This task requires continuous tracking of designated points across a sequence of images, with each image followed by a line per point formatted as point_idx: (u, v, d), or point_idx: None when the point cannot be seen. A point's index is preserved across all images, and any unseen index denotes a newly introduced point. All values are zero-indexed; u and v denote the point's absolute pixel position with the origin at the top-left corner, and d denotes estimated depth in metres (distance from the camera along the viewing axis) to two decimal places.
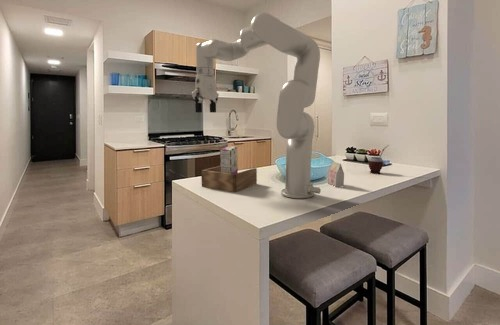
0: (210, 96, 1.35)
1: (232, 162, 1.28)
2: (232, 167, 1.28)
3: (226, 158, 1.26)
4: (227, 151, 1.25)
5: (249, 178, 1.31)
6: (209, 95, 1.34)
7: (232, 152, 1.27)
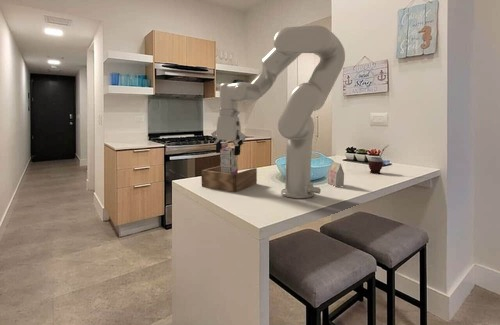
0: None
1: (232, 162, 1.28)
2: (232, 167, 1.28)
3: (226, 158, 1.26)
4: (227, 151, 1.25)
5: (249, 178, 1.31)
6: None
7: (232, 152, 1.27)
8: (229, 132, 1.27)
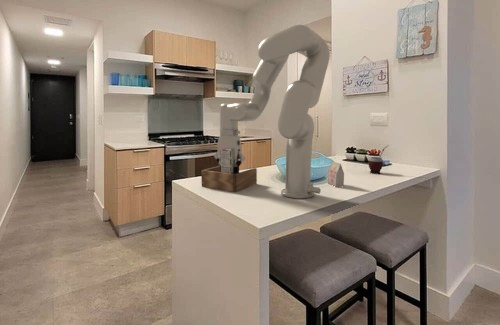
0: None
1: (232, 162, 1.28)
2: (232, 167, 1.28)
3: (226, 158, 1.26)
4: (227, 151, 1.25)
5: (249, 178, 1.31)
6: None
7: (232, 152, 1.27)
8: None
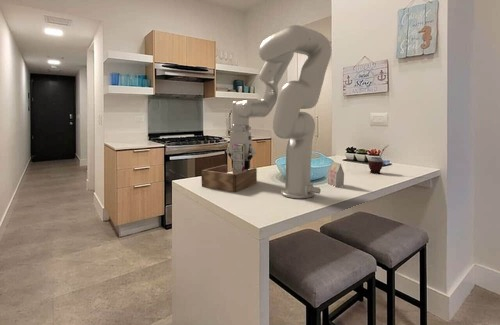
0: None
1: (243, 156, 1.35)
2: (243, 161, 1.35)
3: (238, 153, 1.33)
4: (239, 146, 1.32)
5: (249, 178, 1.31)
6: None
7: (243, 147, 1.34)
8: None
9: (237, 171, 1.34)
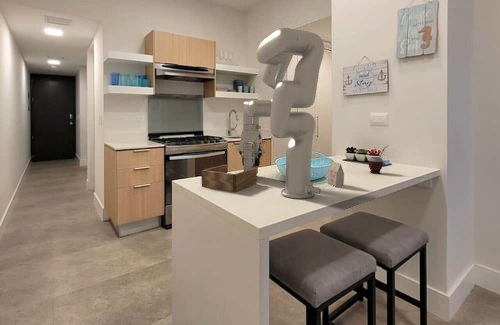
0: None
1: (254, 154, 1.42)
2: (254, 159, 1.42)
3: (249, 150, 1.40)
4: (249, 144, 1.40)
5: (249, 178, 1.31)
6: None
7: (254, 145, 1.41)
8: None
9: (248, 168, 1.42)
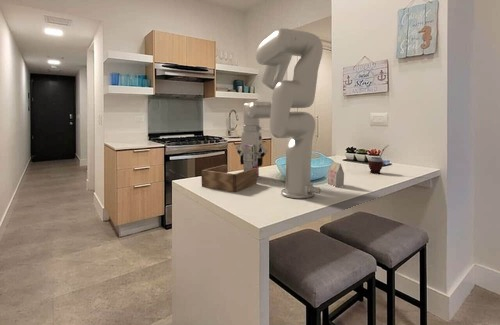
0: None
1: (253, 157, 1.43)
2: (253, 161, 1.43)
3: (248, 153, 1.41)
4: (249, 146, 1.40)
5: (249, 178, 1.31)
6: None
7: (253, 147, 1.42)
8: None
9: None
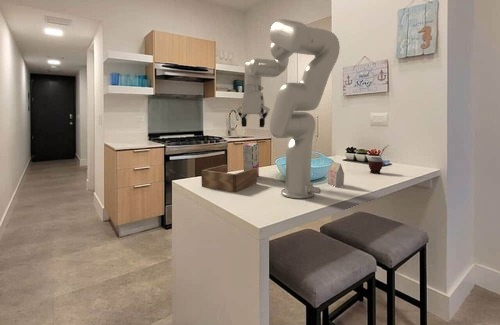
0: None
1: (254, 157, 1.43)
2: (254, 161, 1.43)
3: (248, 153, 1.41)
4: (249, 147, 1.40)
5: (249, 178, 1.31)
6: None
7: (253, 148, 1.42)
8: (254, 106, 1.40)
9: None
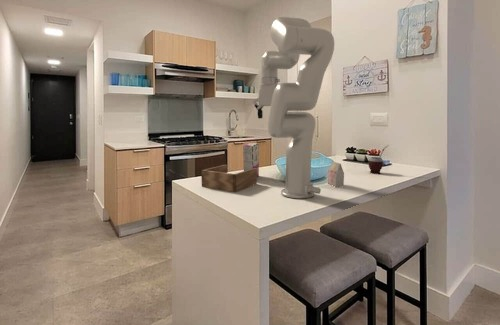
0: None
1: (254, 157, 1.43)
2: (254, 161, 1.43)
3: (248, 153, 1.41)
4: (249, 147, 1.40)
5: (249, 178, 1.31)
6: None
7: (253, 148, 1.42)
8: (271, 98, 1.43)
9: None
